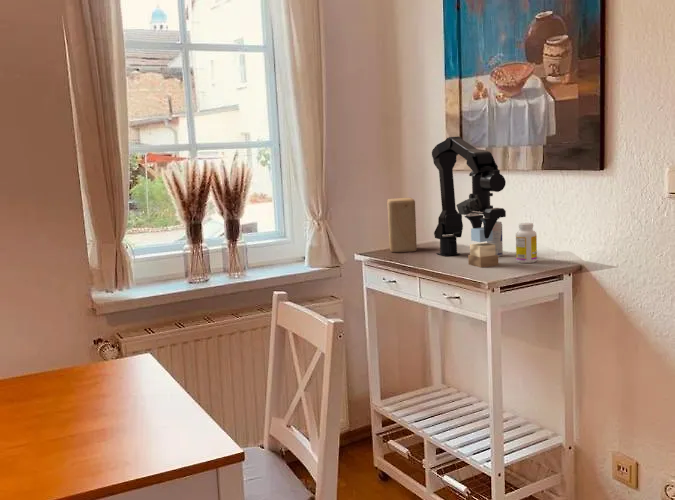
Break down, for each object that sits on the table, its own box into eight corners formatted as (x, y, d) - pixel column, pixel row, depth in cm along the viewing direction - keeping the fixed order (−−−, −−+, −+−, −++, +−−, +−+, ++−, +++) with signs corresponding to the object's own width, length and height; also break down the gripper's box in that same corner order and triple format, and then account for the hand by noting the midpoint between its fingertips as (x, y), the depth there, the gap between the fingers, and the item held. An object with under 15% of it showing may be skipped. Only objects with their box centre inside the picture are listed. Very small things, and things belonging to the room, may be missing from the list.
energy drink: (503, 254, 244) (502, 221, 242) (501, 257, 239) (501, 223, 237) (488, 254, 246) (487, 221, 244) (486, 257, 241) (485, 223, 239)
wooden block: (417, 251, 260) (415, 199, 257) (390, 253, 260) (388, 200, 257) (414, 247, 270) (412, 197, 267) (389, 249, 270) (387, 198, 267)
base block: (468, 265, 229) (468, 255, 228) (485, 262, 231) (485, 252, 231) (480, 268, 222) (480, 257, 222) (498, 265, 225) (498, 255, 224)
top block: (471, 240, 227) (470, 228, 227) (483, 239, 229) (483, 227, 229) (480, 242, 223) (479, 230, 222) (492, 240, 225) (492, 228, 224)
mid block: (470, 254, 228) (469, 244, 228) (485, 252, 231) (485, 242, 230) (479, 257, 223) (479, 246, 222) (495, 255, 225) (495, 244, 224)
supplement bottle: (534, 259, 231) (534, 221, 229) (538, 263, 224) (538, 224, 222) (514, 260, 232) (514, 222, 230) (517, 263, 225) (517, 225, 223)
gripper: (444, 190, 229) (445, 237, 231) (477, 193, 212) (478, 243, 214) (472, 188, 233) (473, 233, 236) (506, 190, 216) (507, 239, 219)
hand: (481, 237), depth 226 cm, fingers closed on top block, 5 cm apart
